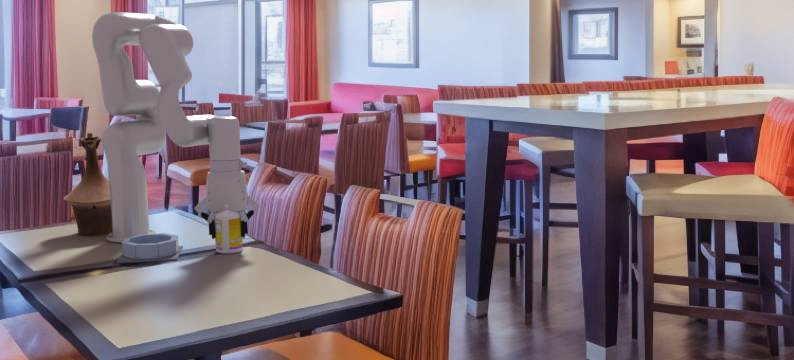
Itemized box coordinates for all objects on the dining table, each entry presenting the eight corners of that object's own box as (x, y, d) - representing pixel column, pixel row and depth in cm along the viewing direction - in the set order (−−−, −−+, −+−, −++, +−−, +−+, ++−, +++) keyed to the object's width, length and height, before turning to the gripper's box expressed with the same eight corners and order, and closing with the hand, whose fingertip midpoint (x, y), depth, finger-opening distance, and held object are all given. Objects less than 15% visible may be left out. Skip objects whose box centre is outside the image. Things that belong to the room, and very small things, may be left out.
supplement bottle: (246, 248, 209) (244, 198, 208) (238, 254, 203) (236, 203, 201) (220, 248, 210) (218, 198, 208) (212, 254, 204) (209, 203, 202)
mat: (126, 249, 209) (126, 248, 209) (183, 247, 212) (182, 245, 212) (116, 263, 196) (116, 261, 196) (177, 260, 198) (177, 258, 198)
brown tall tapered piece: (64, 229, 236) (57, 131, 232) (126, 223, 243) (120, 129, 239) (68, 241, 220) (60, 137, 216) (134, 234, 227) (127, 133, 223)
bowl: (128, 248, 209) (127, 234, 208) (180, 246, 211) (180, 232, 210) (119, 260, 196) (118, 246, 196) (175, 258, 198) (174, 243, 198)
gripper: (261, 163, 208) (263, 232, 211) (191, 165, 206) (194, 235, 208) (261, 167, 201) (263, 238, 204) (188, 169, 198) (191, 242, 201)
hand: (228, 236), depth 206 cm, fingers closed on supplement bottle, 6 cm apart
